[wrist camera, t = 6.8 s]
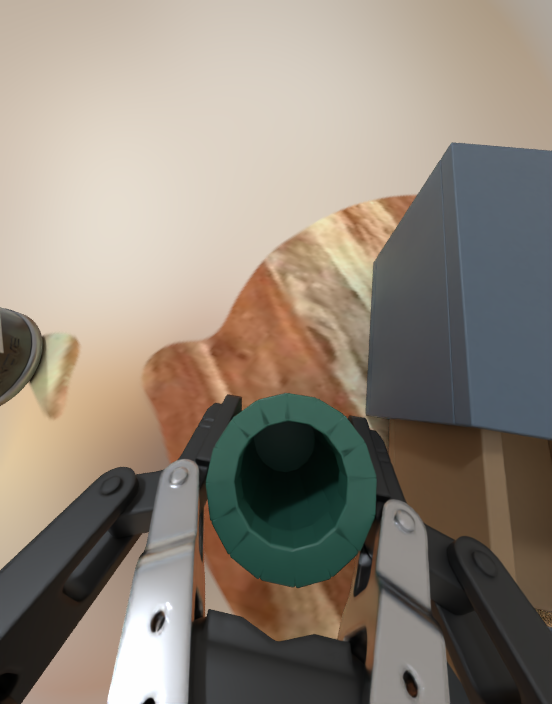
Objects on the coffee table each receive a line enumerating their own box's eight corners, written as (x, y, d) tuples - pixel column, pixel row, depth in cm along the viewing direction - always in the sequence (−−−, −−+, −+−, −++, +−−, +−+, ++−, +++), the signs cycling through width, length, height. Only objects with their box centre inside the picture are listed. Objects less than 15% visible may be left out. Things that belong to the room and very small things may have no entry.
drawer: (602, 764, 11) (1317, 1560, 3) (367, 704, 12) (523, 1241, 4) (546, 420, 15) (803, 434, 8) (378, 393, 16) (464, 382, 9)
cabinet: (544, 445, 16) (923, 501, 6) (365, 415, 17) (472, 426, 7) (518, 280, 19) (737, 165, 10) (373, 262, 20) (451, 141, 11)
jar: (243, 468, 16) (186, 565, 6) (257, 396, 17) (227, 383, 7) (314, 481, 15) (372, 607, 6) (322, 407, 17) (380, 408, 7)
